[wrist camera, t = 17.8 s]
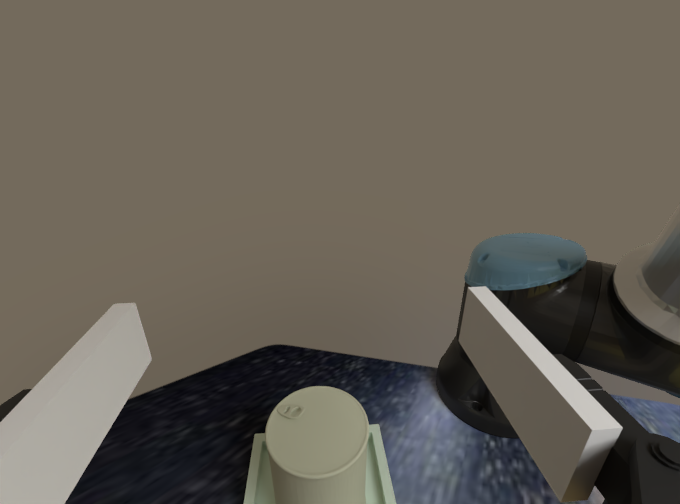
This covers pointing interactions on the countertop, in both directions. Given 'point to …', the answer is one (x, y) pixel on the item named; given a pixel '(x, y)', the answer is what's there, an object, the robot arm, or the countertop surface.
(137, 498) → the countertop surface
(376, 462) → the tray
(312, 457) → the can
